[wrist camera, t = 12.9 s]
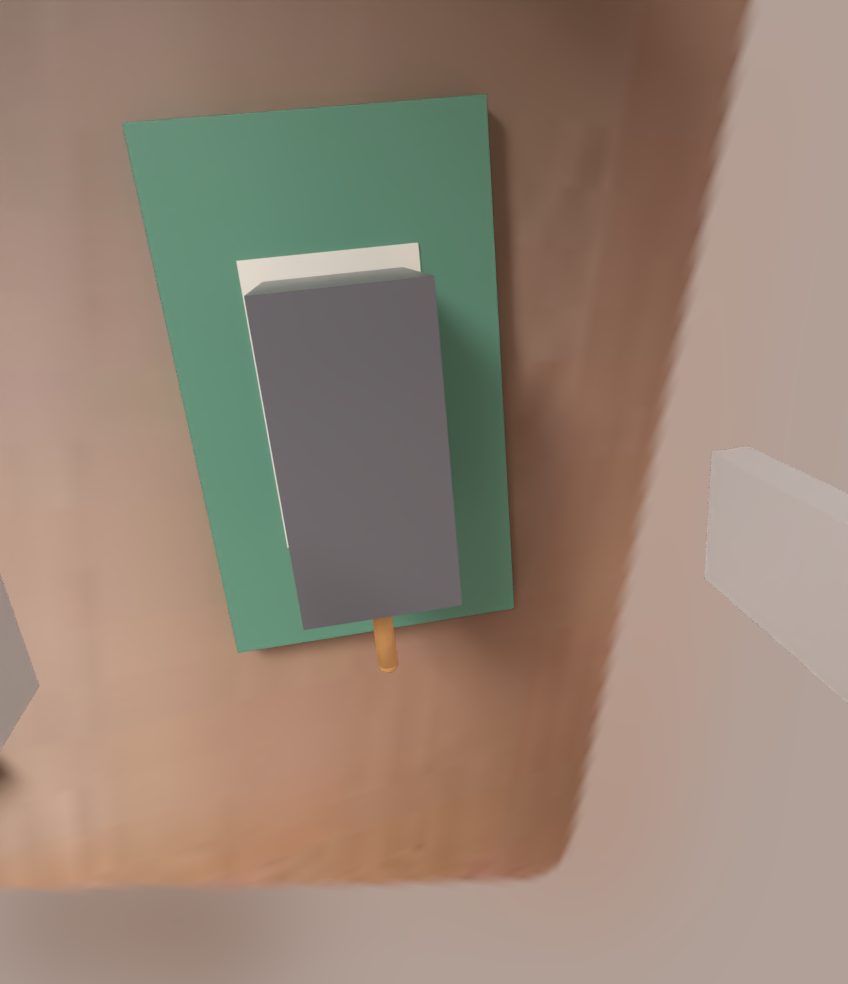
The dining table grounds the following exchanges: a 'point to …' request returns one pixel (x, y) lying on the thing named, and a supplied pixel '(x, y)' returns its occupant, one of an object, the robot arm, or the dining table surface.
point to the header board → (315, 252)
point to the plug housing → (359, 444)
